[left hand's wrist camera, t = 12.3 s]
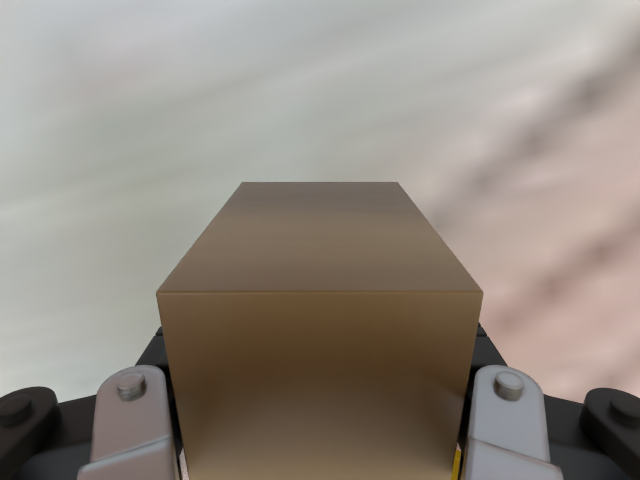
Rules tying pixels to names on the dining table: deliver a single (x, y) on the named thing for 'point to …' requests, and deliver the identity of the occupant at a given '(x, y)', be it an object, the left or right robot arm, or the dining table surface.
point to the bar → (319, 337)
